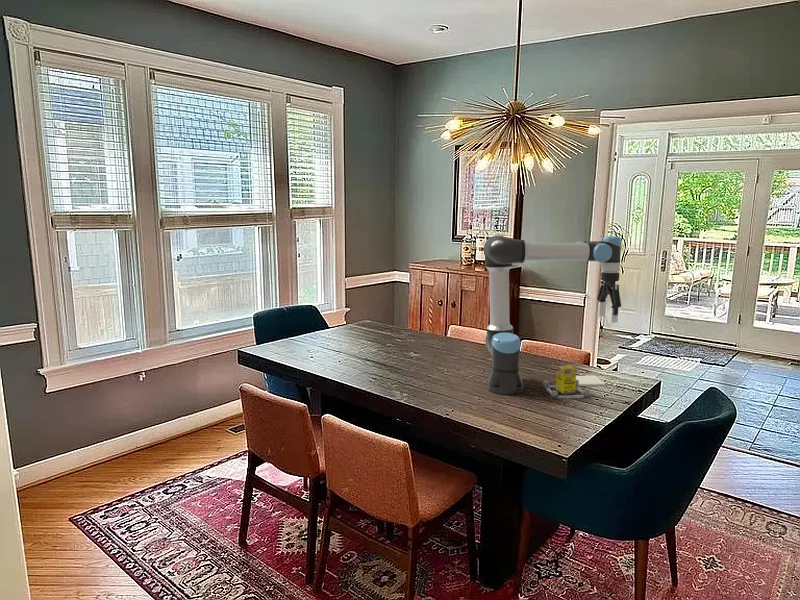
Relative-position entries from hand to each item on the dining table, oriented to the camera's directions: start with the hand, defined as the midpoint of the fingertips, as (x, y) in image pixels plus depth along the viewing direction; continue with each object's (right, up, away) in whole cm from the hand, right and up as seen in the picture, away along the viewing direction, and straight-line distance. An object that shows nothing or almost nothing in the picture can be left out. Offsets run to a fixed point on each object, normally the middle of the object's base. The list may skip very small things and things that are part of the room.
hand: (607, 319), depth 243 cm
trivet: (-9, -28, 0) cm, 29 cm away
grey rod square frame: (-23, -30, -14) cm, 41 cm away
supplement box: (-23, -30, -14) cm, 41 cm away
